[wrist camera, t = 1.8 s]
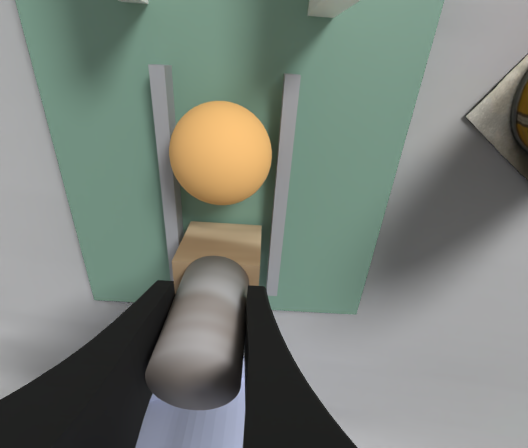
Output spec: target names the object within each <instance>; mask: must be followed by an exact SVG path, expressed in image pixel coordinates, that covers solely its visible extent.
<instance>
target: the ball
mask: <svg viewBox="0 0 528 448" xmlns="http://www.w3.org/2000/svg"><path fill="white" fill-rule="evenodd" d="M169 158H170V164H171V167H172V170H173V173H174V175H175V177H176V179H177V180H178V182H179V183H180V185H181V186H182V187H183V188H184V189H185V190H186V191H187V192H188V193H189V194H191V195H192V196H194V197H195V198H197V199H199V200H201V201H203V202H206V203H209V204H214V205H231V204H235V203H238V202H241V201H243V200H245V199H247V198H249V197H250V196H252V195H253V194H254V193H255V192H256V191H257V190H258V189H259V188H260V187H261V186H262V184H263V183H264V181H265V180H266V178H267V176H268V173H269V170H270V167H271V160H272V149H271V143H270V139H269V136H268V134H267V131H266V129H265V128H264V126H263V124H262V123H261V122H260V120H259V119H258V118H257V117H256V116H255V115H254V114H253V113H252V112H250V111H249V110H248V109H246V108H244V107H243V106H240V105H238V104H236V103H232V102H228V101H211V102H206V103H203V104H200V105H198V106H196V107H194V108H192V109H191V110H189V111H188V112H187V113H186V114H185V115H184V116H183V117H182V118H181V119H180V120H179V121H178V123H177V125H176V126H175V128H174V130H173V133H172V136H171V139H170V145H169Z"/></svg>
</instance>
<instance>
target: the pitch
mask: <svg viewBox="0 0 528 448" xmlns="http://www.w3.org/2000/svg"><path fill="white" fill-rule="evenodd" d="M15 1H16V5H17V9H18V13H19V17H20V20H21V24H22V28H23V32H24V35H25V39H26V43H27V47H28V51H29V54H30V58H31V62H32V66H33V70H34V73H35V77H36V81H37V85H38V88H39V92H40V96H41V100H42V104H43V107H44V111H45V115H46V119H47V123H48V126H49V130H50V134H51V138H52V141H53V145H54V149H55V153H56V157H57V160H58V164H59V168H60V172H61V176H62V179H63V183H64V187H65V191H66V194H67V198H68V202H69V206H70V210H71V213H72V217H73V221H74V225H75V229H76V232H77V236H78V240H79V244H80V248H81V251H82V255H83V259H84V263H85V266H86V270H87V274H88V278H89V282H90V285H91V289H92V293H93V297H94V300H103V301H121V302H135V301H136V300H137V299H138V298H140V297H141V296H142V295H143V294H144V293H145V292H146V291H147V290H148V289H149V288H150V287H151V286H152V285H153V284H154V283H155V282H156V281H157V280H165V281H174V280H173V270H172V260H173V257H174V255H175V253H176V251H177V249H178V247H179V245H180V243H181V241H182V239H183V237H184V234H185V232H186V230H187V228H188V226H189V224H190V222H191V221H197V222H213V223H229V224H246V225H262V229H261V255H260V275H259V286H264V287H265V288H266V289H267V295H268V299H269V303H270V306H271V309H272V310H283V311H301V312H319V313H337V314H357V310H358V307H359V303H360V299H361V296H362V292H363V289H364V285H365V282H366V278H367V274H368V271H369V267H370V264H371V260H372V257H373V253H374V249H375V246H376V242H377V239H378V235H379V232H380V228H381V225H382V221H383V217H384V214H385V210H386V207H387V203H388V200H389V196H390V192H391V189H392V185H393V182H394V178H395V175H396V171H397V167H398V164H399V160H400V157H401V153H402V150H403V146H404V142H405V139H406V135H407V132H408V128H409V125H410V121H411V118H412V114H413V110H414V107H415V103H416V100H417V96H418V93H419V89H420V85H421V82H422V78H423V75H424V71H425V68H426V64H427V60H428V57H429V53H430V50H431V46H432V43H433V39H434V36H435V32H436V28H437V25H438V21H439V18H440V14H441V11H442V7H443V3H444V0H360V1H359V2H357V3H356V4H354V5H353V6H351V7H349V8H348V9H346V10H345V11H343V12H342V13H340V14H339V15H337V16H336V17H334V18H329V17H315V16H307V15H308V6H309V0H148V4H142V3H129V2H121V1H118V0H15ZM211 101H228V102H232V103H236V104H238V105H240V106H243V107H244V108H246V109H248V110H249V111H250V112H252V113H253V114H254V115H255V116H256V117H257V118H258V119H259V120H260V122H261V123H262V124H263V126H264V128H265V129H266V131H267V134H268V136H269V139H270V143H271V149H272V160H271V167H270V170H269V173H268V176H267V178H266V180H265V181H264V183H263V184H262V186H261V187H260V188H259V189H258V190H257V191H256V192H255V193H254V194H253V195H252V196H250V197H249V198H247V199H245V200H243V201H241V202H238V203H235V204H231V205H214V204H209V203H206V202H203V201H201V200H199V199H197V198H195V197H194V196H192V195H191V194H189V193H188V192H187V191H186V190H185V189H184V188H183V187H182V186H181V185H180V183H179V182H178V180H177V179H176V177H175V175H174V173H173V170H172V167H171V164H170V158H169V145H170V139H171V136H172V133H173V130H174V128H175V126H176V125H177V123H178V121H179V120H180V119H181V118H182V117H183V116H184V115H185V114H186V113H187V112H188V111H189V110H191V109H192V108H194V107H196V106H198V105H200V104H203V103H206V102H211Z"/></svg>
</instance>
